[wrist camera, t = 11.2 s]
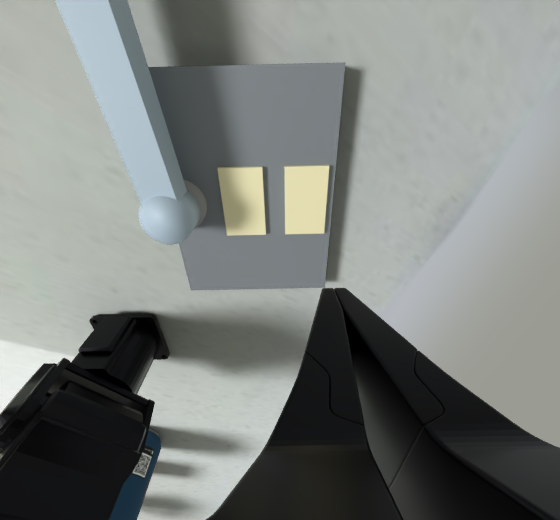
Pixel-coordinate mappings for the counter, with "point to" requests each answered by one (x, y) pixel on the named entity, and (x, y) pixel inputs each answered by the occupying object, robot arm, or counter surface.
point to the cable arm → (132, 113)
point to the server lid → (255, 169)
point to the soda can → (137, 481)
